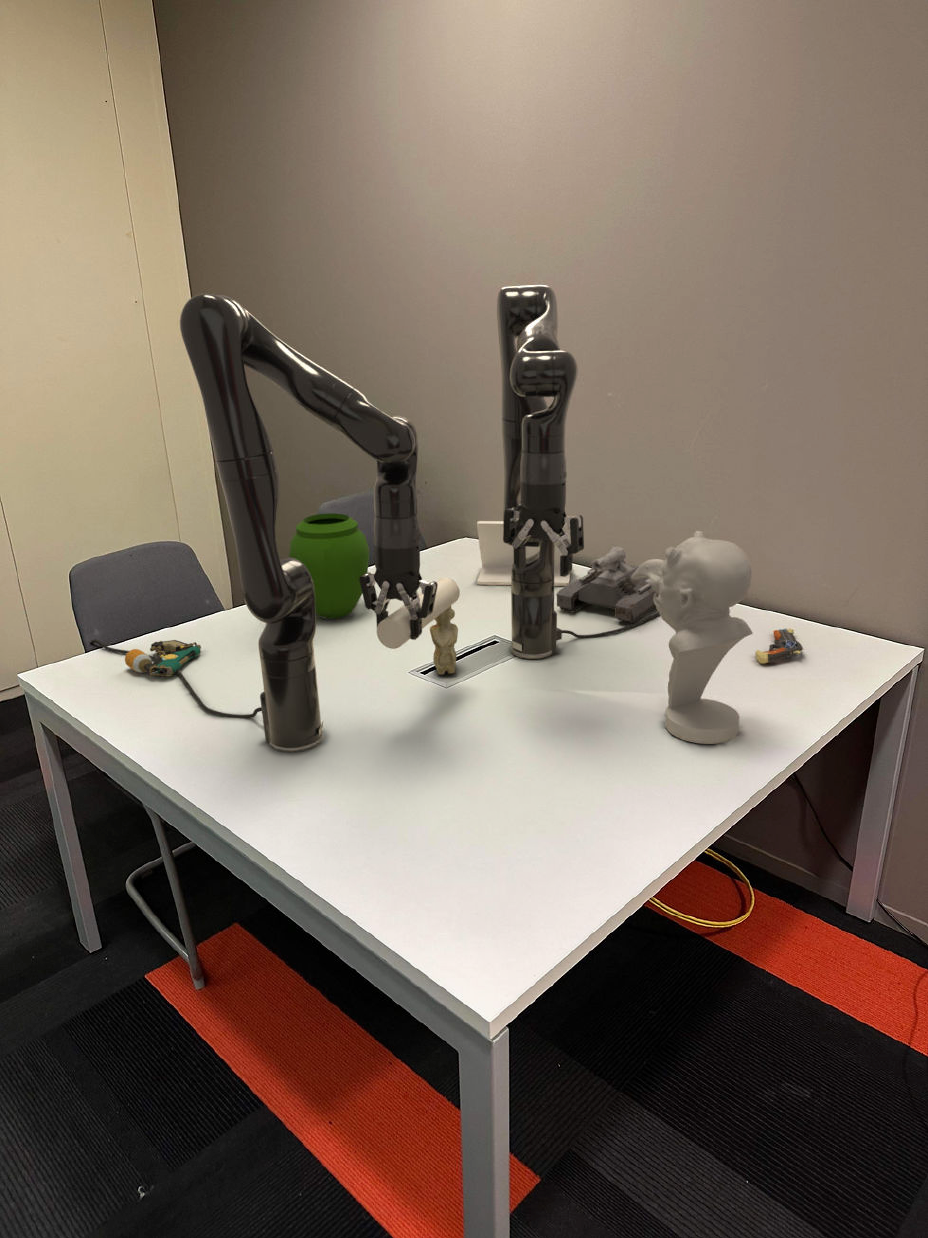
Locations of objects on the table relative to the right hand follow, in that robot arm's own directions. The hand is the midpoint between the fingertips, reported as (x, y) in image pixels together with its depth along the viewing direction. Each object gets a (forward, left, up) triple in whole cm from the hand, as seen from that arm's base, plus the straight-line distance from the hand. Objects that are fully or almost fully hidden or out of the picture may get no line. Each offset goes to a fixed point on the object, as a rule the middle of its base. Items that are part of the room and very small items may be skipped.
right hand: (542, 571), depth 146 cm
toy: (-36, -56, -29) cm, 73 cm away
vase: (+34, -69, -29) cm, 82 cm away
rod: (+20, -9, -11) cm, 25 cm away
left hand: (+25, -2, -10) cm, 27 cm away
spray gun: (+72, -47, -29) cm, 90 cm away
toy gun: (-58, -20, -29) cm, 68 cm away
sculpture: (+13, -28, -29) cm, 42 cm away
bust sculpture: (-24, +6, -29) cm, 39 cm away
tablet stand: (-20, -86, -29) cm, 93 cm away
